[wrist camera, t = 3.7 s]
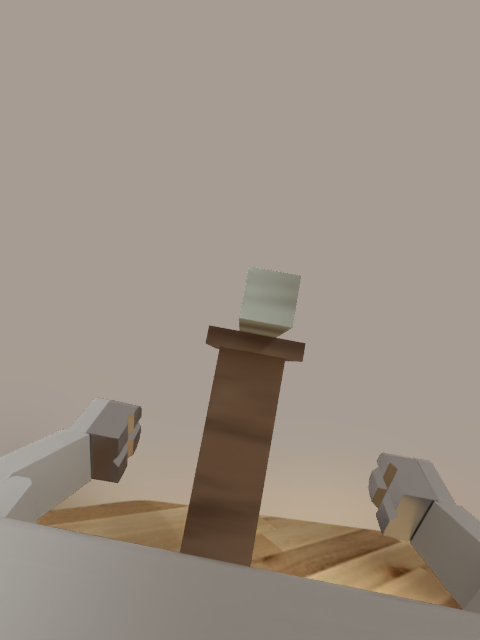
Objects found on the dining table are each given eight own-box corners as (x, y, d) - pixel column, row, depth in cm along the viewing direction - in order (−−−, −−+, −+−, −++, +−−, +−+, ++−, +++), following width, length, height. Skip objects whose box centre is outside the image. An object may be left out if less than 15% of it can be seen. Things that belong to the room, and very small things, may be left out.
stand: (254, 700, 23) (311, 344, 26) (132, 674, 23) (203, 324, 26) (249, 584, 35) (289, 349, 38) (169, 567, 35) (214, 335, 38)
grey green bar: (238, 339, 38) (243, 314, 38) (265, 344, 38) (270, 319, 38) (237, 317, 18) (247, 266, 18) (294, 328, 18) (302, 276, 18)
